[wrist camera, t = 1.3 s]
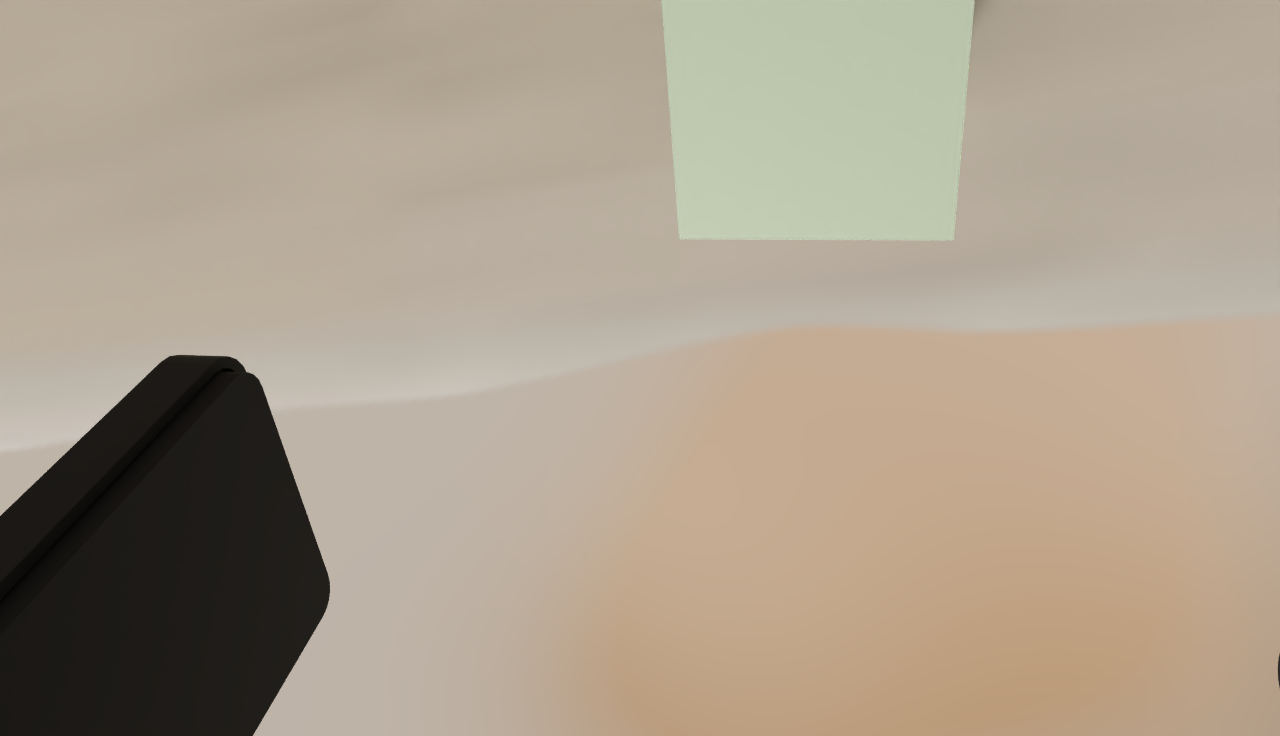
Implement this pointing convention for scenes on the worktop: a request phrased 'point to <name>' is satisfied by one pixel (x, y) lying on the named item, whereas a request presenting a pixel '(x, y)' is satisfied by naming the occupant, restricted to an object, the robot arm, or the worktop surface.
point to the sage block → (817, 117)
